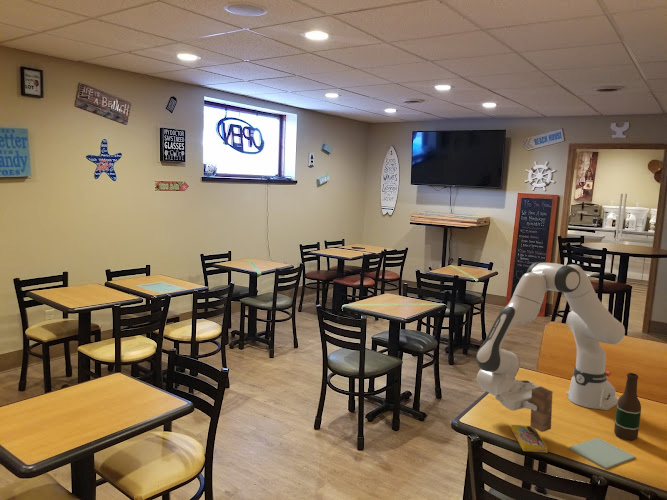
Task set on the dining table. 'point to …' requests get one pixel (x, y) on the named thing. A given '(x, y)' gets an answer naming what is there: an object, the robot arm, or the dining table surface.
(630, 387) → the beer bottle
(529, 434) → the candy box
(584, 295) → the robot arm
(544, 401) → the walnut block
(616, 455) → the mat
